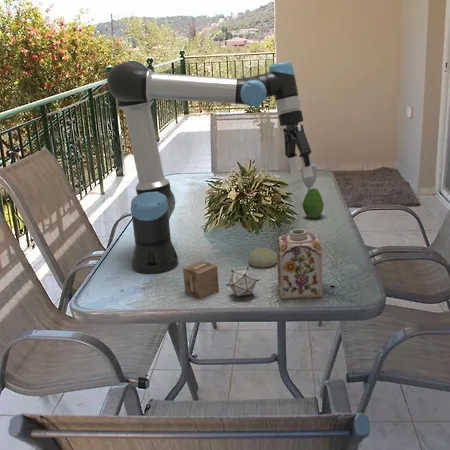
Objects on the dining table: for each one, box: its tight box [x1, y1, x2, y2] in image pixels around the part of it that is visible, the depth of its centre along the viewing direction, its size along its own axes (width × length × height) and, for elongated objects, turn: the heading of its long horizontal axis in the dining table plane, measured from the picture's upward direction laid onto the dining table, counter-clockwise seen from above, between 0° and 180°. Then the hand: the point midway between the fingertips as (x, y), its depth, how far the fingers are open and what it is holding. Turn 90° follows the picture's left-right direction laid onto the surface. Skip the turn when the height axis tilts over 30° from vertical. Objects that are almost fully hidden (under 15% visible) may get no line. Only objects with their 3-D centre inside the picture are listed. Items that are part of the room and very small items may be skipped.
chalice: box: [299, 162, 318, 193], centre depth 241 cm, size 7×7×18 cm
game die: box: [225, 266, 260, 300], centre depth 166 cm, size 9×8×10 cm
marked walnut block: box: [182, 260, 220, 300], centre depth 170 cm, size 7×7×8 cm
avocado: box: [302, 187, 324, 219], centre depth 229 cm, size 8×8×12 cm
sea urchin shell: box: [248, 247, 277, 269], centre depth 188 cm, size 9×8×8 cm
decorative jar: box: [276, 228, 323, 300], centre depth 165 cm, size 12×12×18 cm
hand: (302, 176), depth 190 cm, fingers open, 13 cm apart
